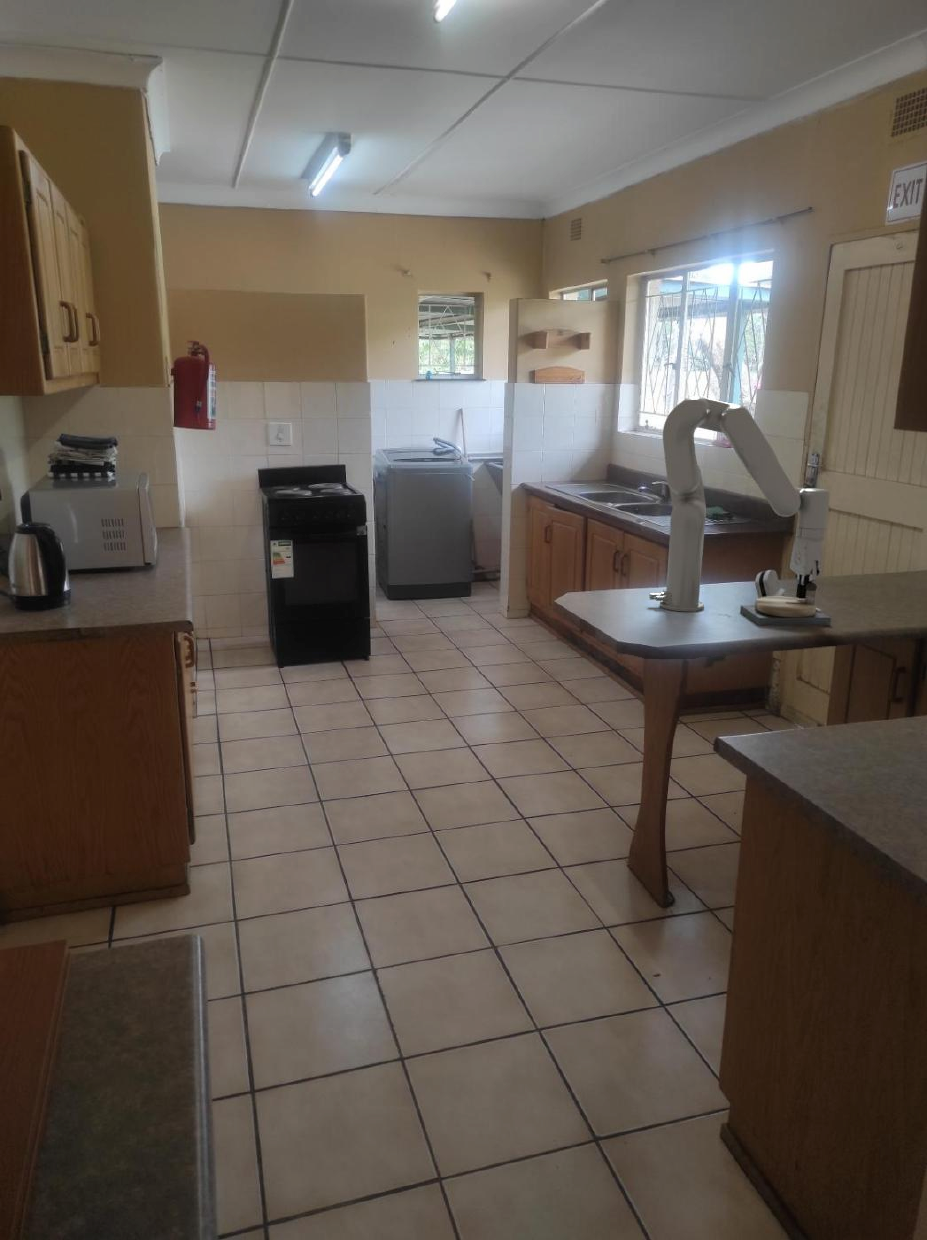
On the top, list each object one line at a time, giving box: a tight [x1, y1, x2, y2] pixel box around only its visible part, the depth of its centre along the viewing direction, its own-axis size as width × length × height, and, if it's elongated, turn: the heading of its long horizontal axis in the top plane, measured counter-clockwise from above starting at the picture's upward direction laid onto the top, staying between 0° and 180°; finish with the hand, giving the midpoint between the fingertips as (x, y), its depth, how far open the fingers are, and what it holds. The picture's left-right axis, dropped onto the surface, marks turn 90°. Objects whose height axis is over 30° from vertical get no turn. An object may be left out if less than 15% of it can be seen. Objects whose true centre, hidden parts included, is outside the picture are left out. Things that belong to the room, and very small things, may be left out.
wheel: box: [754, 582, 818, 617], centre depth 243 cm, size 16×16×8 cm
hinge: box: [754, 569, 787, 599], centre depth 266 cm, size 17×5×10 cm, turn 151°
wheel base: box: [739, 604, 832, 627], centre depth 244 cm, size 20×14×3 cm
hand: (802, 597), depth 247 cm, fingers closed
